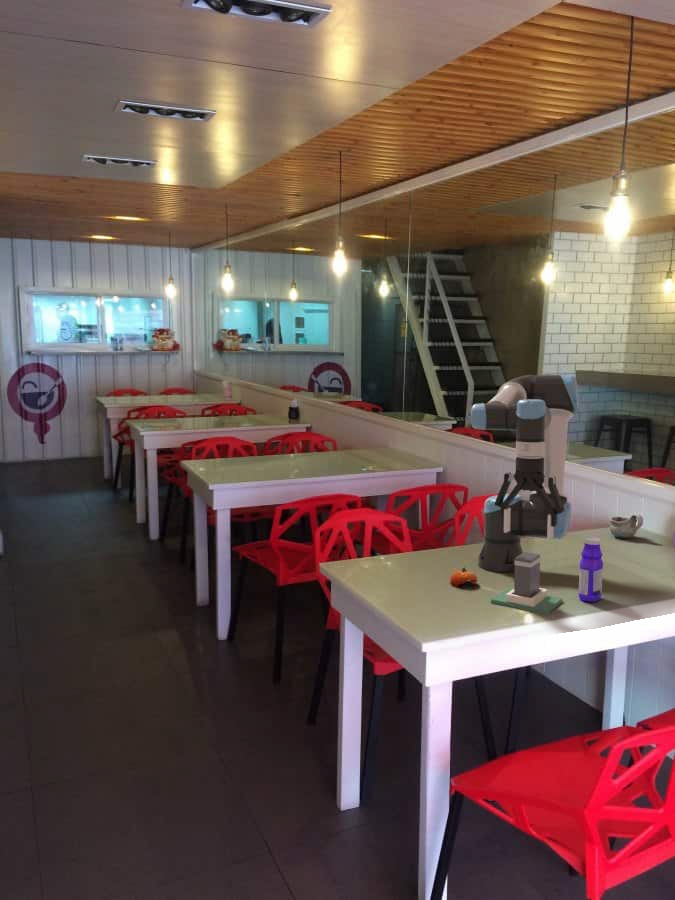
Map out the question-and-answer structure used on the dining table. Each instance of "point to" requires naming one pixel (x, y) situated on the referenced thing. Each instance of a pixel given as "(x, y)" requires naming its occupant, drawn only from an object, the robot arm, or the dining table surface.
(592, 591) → the bottle
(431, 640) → the dining table surface
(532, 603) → the header board
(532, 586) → the plug
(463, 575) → the tomato
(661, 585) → the dining table surface
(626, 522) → the mug
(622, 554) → the dining table surface
